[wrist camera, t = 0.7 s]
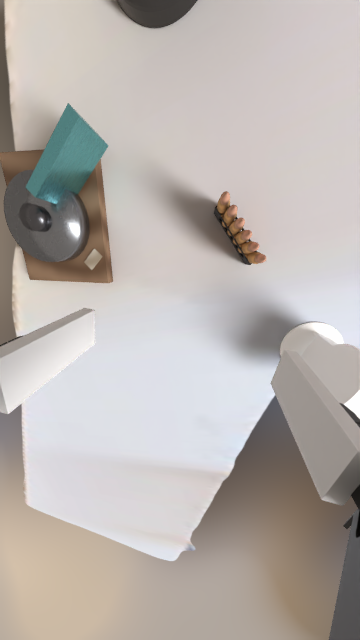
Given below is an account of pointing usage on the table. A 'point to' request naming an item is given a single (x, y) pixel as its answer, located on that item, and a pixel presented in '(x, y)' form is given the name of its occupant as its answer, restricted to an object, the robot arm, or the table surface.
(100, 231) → the stand
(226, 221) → the ammunition clip
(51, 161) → the dial
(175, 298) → the table surface
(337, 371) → the panda figurine
